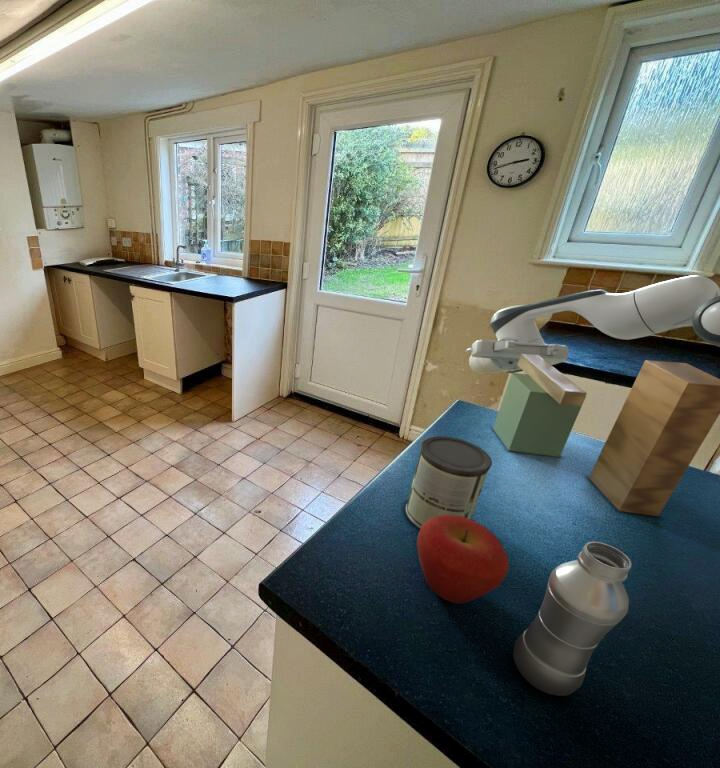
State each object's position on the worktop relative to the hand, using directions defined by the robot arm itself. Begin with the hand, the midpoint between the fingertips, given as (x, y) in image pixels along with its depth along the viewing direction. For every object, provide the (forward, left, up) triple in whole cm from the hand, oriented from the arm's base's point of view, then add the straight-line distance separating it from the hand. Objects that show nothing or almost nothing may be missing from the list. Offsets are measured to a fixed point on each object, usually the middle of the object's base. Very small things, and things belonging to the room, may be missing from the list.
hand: (533, 345), depth 98 cm
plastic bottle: (+21, +69, -20) cm, 75 cm away
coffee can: (+27, +43, -20) cm, 55 cm away
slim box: (+1, +11, -5) cm, 12 cm away
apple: (+29, +59, -20) cm, 69 cm away
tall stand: (-9, +28, -20) cm, 36 cm away
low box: (+1, +11, -20) cm, 23 cm away
